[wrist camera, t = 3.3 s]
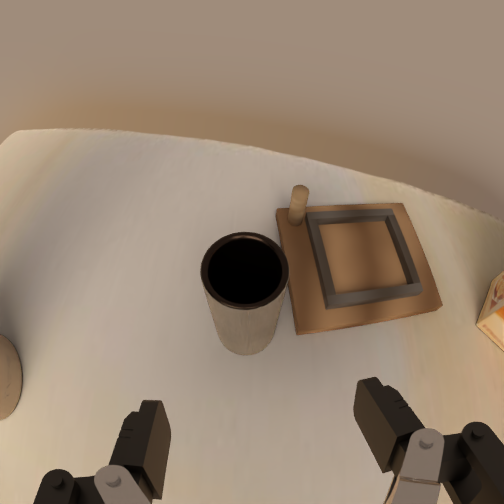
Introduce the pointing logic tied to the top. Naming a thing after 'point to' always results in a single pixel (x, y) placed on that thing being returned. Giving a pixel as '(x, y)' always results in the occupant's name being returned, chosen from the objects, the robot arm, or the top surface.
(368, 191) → the top surface
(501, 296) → the coffeecake box
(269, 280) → the grey hollow cylinder
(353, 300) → the socket board
